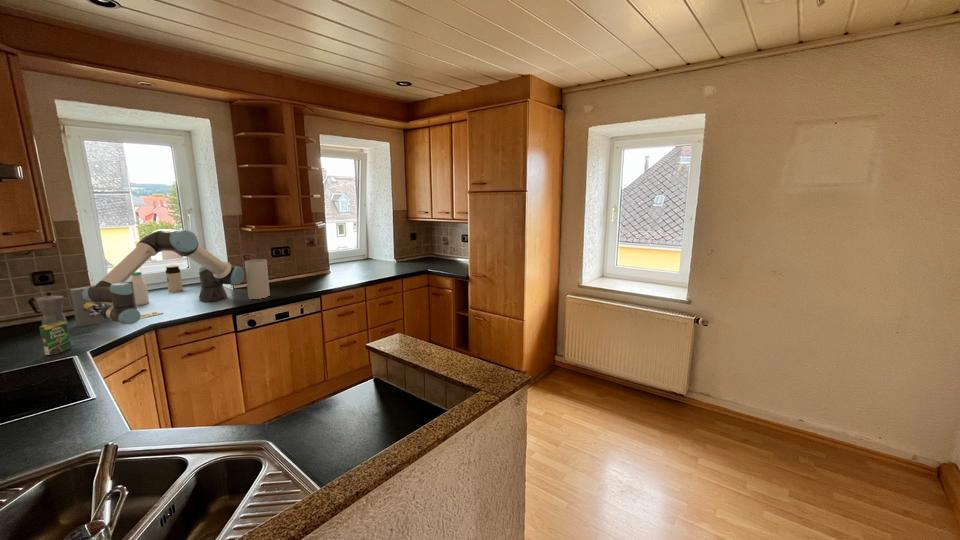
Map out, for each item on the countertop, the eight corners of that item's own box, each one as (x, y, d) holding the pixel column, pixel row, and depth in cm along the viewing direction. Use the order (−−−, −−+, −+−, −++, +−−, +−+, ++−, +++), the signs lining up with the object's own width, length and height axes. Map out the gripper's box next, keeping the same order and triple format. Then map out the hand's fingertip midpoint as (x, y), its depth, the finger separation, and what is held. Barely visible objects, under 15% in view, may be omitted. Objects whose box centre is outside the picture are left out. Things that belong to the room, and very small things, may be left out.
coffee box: (49, 356, 160) (43, 326, 158) (44, 356, 161) (37, 326, 158) (72, 349, 168) (67, 320, 165) (67, 348, 168) (61, 320, 166)
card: (163, 313, 219) (163, 312, 219) (140, 318, 209) (139, 317, 209) (157, 312, 221) (157, 310, 221) (134, 317, 212) (133, 316, 211)
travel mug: (182, 289, 275) (179, 264, 272) (183, 291, 269) (179, 266, 266) (168, 290, 270) (164, 265, 267) (168, 292, 264) (165, 267, 261)
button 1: (96, 309, 199) (95, 301, 198) (86, 311, 196) (84, 303, 195) (89, 307, 202) (88, 299, 201) (79, 309, 198) (78, 301, 198)
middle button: (118, 306, 204) (117, 299, 203) (109, 308, 201) (108, 300, 200) (111, 304, 207) (110, 297, 206) (102, 306, 204) (100, 299, 203)
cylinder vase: (261, 300, 249) (257, 262, 244) (243, 299, 251) (240, 261, 246) (274, 295, 261) (271, 259, 256) (257, 294, 263) (254, 258, 258)
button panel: (137, 314, 217) (132, 281, 213) (80, 326, 196) (73, 290, 192) (133, 313, 219) (128, 280, 215) (76, 325, 197) (69, 289, 194)
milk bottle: (152, 302, 241) (148, 271, 237) (140, 305, 233) (135, 273, 230) (141, 301, 242) (136, 270, 238) (129, 305, 234) (124, 273, 230)
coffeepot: (78, 322, 202) (71, 289, 198) (64, 328, 193) (57, 293, 189) (41, 324, 198) (34, 290, 194) (25, 330, 189) (17, 295, 186)
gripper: (99, 324, 182) (74, 317, 192) (132, 316, 194) (108, 310, 203) (96, 308, 181) (72, 302, 190) (130, 302, 192) (105, 296, 202)
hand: (90, 306), depth 197 cm, fingers closed
